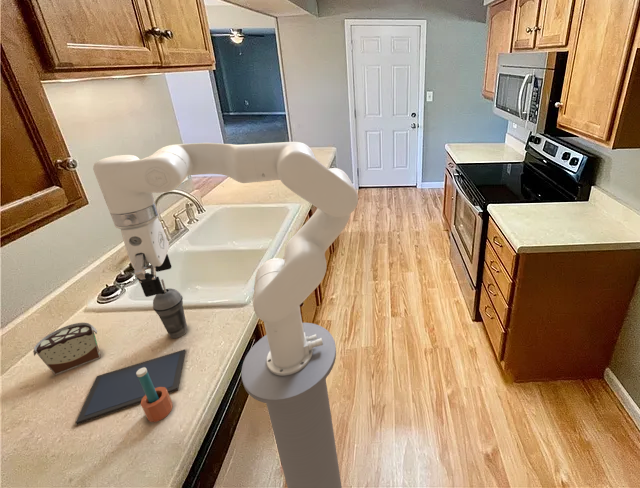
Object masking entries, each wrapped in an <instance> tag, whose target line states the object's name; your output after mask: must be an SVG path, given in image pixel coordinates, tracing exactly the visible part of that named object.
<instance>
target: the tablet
mask: <svg viewBox="0 0 640 488" xmlns="http://www.w3.org/2000/svg"><path fill="white" fill-rule="evenodd" d="M186 352H187V351H186V349H180V350H177V351H174V352H171V353H169V354H165V355H161V356H159V357H155V358H151V359H148V360H145V361H142V362H139V363H135V364H133V365H129V366H125V367H122V368H118V369H115V370H112V371H109V372H105V373H103V374H98V375H97V376H96V378H95V379H94V381H93V384H92V386H91V388H90V391H89V393H88V395H87V397H86V399H85V401H84V404H83V406H82V407H81V410H80V412H79V414H78V417H77V419H76V421H75V424H76V425H81V424H84V423H87V422H89V421H91V420H92V421H93V420H95V419H98V418H100V417H104V416H107V415H110V414H112V413H116V412H118V411H121V410H124V409H127V408H130V407H133V406H136V405H139V404H141V400H142V398H143V397H144V396H145V395H146V394H145V392H144V390H143V388H142V385H141V383H140V381H139V379H138V377H137V374H136V372H137V371H138V370H139V369H141V368H143V367H145V368H146V369H147V372H148V374H149V376H150V379H151V381H152V383H153V386H154V388H158V387H165V388H166V389H167V391H168V393H169V394H171V393H173V392H177V391H179V389H180V383H181V377H182V372H183V367H184V363H185V357H186V354H187V353H186Z"/></svg>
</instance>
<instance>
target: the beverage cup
mask: <svg viewBox="0 0 640 488" xmlns="http://www.w3.org/2000/svg"><path fill="white" fill-rule="evenodd" d="M160 282H161V285H162V288H163V293H161V294H157V295H154V298H153V300H152V309H153V310H154V312H155V313H156V315H158V317H159V319H160V321H161V323H162V325H163V327H164V328H165V330H166V332H167V333H168V335H169V337H170V338H171V339H179V338H181V337H182V336H184V335H185V334H186V333H187V332H188V326H187V319H186V315H185V310H184V306H183V305H184V304H183V303H184V301H183V299H184V298H183V295H182V294H181V292H179V291H178V290H177V289H176V288H175V289H174V288H166V284H165V281H164V279H163V278H161V279H160Z"/></svg>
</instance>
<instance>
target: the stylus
mask: <svg viewBox="0 0 640 488" xmlns="http://www.w3.org/2000/svg"><path fill="white" fill-rule="evenodd" d="M136 374H137V377H138V379H139V381H140V383H141V385H142V388H143V390H144V392H145V394H146V397H147V399H148V401H149V403H153V402H155V401H157V400H158V399H159V397H158V395H157V393H156V390H155V388H154V386H153V383H152V381H151V379H150V376H149V374H148V372H147V369H146V368H145V367H143V368H141V369H139V370H138V371H137V372H136Z"/></svg>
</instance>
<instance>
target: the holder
mask: <svg viewBox="0 0 640 488" xmlns="http://www.w3.org/2000/svg"><path fill="white" fill-rule="evenodd" d="M155 390H156V393H157V395H158V397H159V399H158V400H157V401H155V402H153V403H149V401H148V399H147V397H146V395H145V396H144V397H143V398H142V400H141V403H140V406H141V409H142V411H143V413H144V415H145V417H146V419H147V421H148V422H150V423H157V422H160V421H161V420H164V418H166V417H168V416H169V414H171V411H172V410H173V407H174V404H173V401H172V398H171V396H170V393H168V391H167V389H166V388H165V387H158V388H155Z"/></svg>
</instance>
